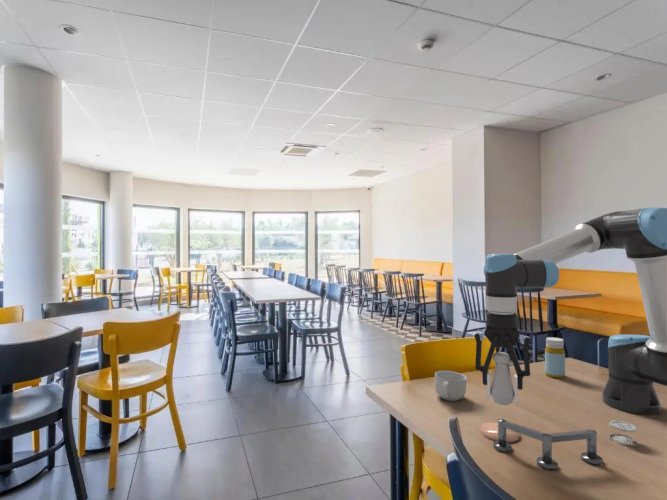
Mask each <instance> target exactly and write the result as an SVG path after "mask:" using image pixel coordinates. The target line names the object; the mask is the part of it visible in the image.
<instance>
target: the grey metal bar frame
mask: <svg viewBox="0 0 667 500" xmlns="http://www.w3.org/2000/svg"><path fill="white" fill-rule="evenodd" d="M497 423H498V441H493V443H492V445H493V449H494V450H496V451H498V452H500V453H510V452H512V451H513V448H512V447H513V445H511V443H507V429H509V430H512V431H515V432H517V433H519V435H524V436H527V437H529V438H532V439H535V440H538V441H541V442H542V443H541V447H542V448H541V452H542V456H539V457H537V458H536V465H537V466H538V467H540V468H541V469H543V470H546V471H552V472H553V471H557V470H558V467H559V466H558V462H557V461H555V459H553V450H552V449H553V447H552V446H553V443H562V442H569V441H570V442H571V441H578V440H579V441H581V440H586V452H581V453H580V454H581V455H580V459H581V460H582V461H583V462H584V463H586V464H589V465H590V466H591V465H592V466H596V465H599V466H602V465H603V463H604V461H603V458H602V457H601V456H600V455H598V452H597V451H598V446H597V445H598V444H597V440H598V439H597V438H598V437H597V434H598V433H597V431H596V430H595V429H589V428H587V429H586V430H584V429H583V430H576V431H574V430H573V431H564V432H562V431H561V432H553V433H544V432H541V431H538V430H536V429H532V428H529V427H526V426H523V425H520V424H517V423H514V422H511V421H508V420H506V419H504V418H498V420H497ZM601 464H602V465H601Z"/></svg>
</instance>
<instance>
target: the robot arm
mask: <svg viewBox="0 0 667 500" xmlns="http://www.w3.org/2000/svg"><path fill="white" fill-rule="evenodd" d="M609 249H610V250H611V249H612V250H614V249H615V250H616V249H617V250H618V249H620V250H625V255H626V258H627V260H630V261H632V262H633V263H634V266H635V271H636V276H637V280H638V285H639V290H640V294H641V295H640V296H641V299H642V303H643V309H644V313H645V318H646V322H647V323H646V324H647V328H648V332H649V335H645V334H631V333H630V334H621V333H620V334H614V335H611V336H610V337H609V338H608V346H607V354H608V356H607V359H608V360H607V363H608V366H607V367H608V379H607V381H606V383H605V386H604V388H603V391H602V394H601V395H602V401H603V402H604V404H606V405H608V406H610V407H612V408H615V409H618V410H621V411H624V412H627V413H632V414H633V413H634V414H640V415H656V414H659V413H661V410H662V407H661V406H662V405H661V401H660V398H659V396H658V394H657V391H656V389H655V386H654V383H656V384H659V385H663V386H665V387H667V207H647V208H646V207H645V208H638V209H629V210H621V211H620V210H618V211H613V212H609V213H605V214H603V215H600V216H597V217H594V218H592V219H590V220H588V221H585V222H582V223H580V224H577V225H576V226H574V228H573V230H571V231H569V232H566V233H563V234H561V235H558V236H557V237H556V236H555V237H554V238H551V239H548V240H545V241H543V242H541V243H538V244H536V245H533V246H530V247H527V248H525V249H523V250H521V251H518V252H515V253H489V254H488V255H486V257H485V264H484V267H483V273H484V274H483V275H484V277H485V310H487V312H486V313H485V321H486V322H485V324H486V325H485V326H486V327H485V330H483V331H480V332H479V331H475V333H474V339H475V342H476V344H475V345H476V347H475V365H474V366H475V367H474V369H475V370H476V371H479V372H481V373H482V384H483V386H486V387H487V388H486V391H487V392H486V394H487V395H486V396H487V397H486V399H488V400H491V398H492V395H491V386H492V381H491V380H492V379H491V378H492V376H491V375H492V372H491V370H490V371H489V368H490V365H491V362H492V359H493V355H494V354H495V350H496V348H504V349H507V350H508V352H509V353H508V354H509V355H510V356H511V362H512V365H513V368H514V371H515V373H516V374H514V375H513V376H514V378H513V382H514V386H513V389H514V394H515V396H514V404H518V403H519V399H518V397H519V393H518V392H519V391H518V390H523V385H524V384H523V383H524V382H523V378H524V377H531V366H530V354H529V353H530V352H529V346H530V343H531V337H530V336H529V335H523V334H520V332H519V330H518V314H517V313H516V312H517V311H518V290H521V289H545V288H551V287H552V288H553V287H554V286H556V284H557V283H558V281H559V280H560V270H559V267H558V266H557V264H559V263H561V262H564V261H566V260H568V259H571V258H574V257H576V256H578V255H581V254H583V253H589V254H590V253H595V252H597V251H601V250H609ZM485 337H486V338H487V340H488V341H489V342H490V346H489V349H488V352H487V355H486V358H485V361H484V365H482V348H483V347H482V345H483V344H482V343H483V341H484V339H485ZM518 340H519V342H520V344H521V345H522V352H523V364H524V365H523V367H524V369H523V370H522V368H521V364H520V361H519V358H518V356H517V353H516V351H515V347H514V344H515V343H516V342H517V341H518Z"/></svg>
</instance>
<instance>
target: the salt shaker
mask: <svg viewBox="0 0 667 500" xmlns="http://www.w3.org/2000/svg"><path fill="white" fill-rule="evenodd" d="M492 359H493V362H494V363H495V367H494V371H493V376H492V381H491V398H492V399H493V402H494V403H495V404H498V405H501V406H509V405H512V403H513V400H514V399H515V393H514V386H513V379H512V374H511V369H510V365H509V364H510V363H511V362H512V359H511V356H510V353H507V352H503V351H498V352H494V353H493V356H492Z"/></svg>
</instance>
